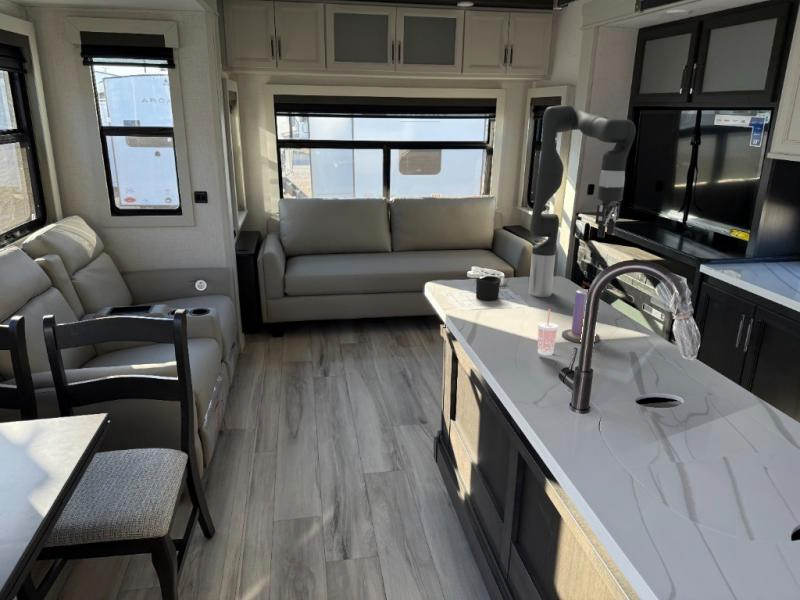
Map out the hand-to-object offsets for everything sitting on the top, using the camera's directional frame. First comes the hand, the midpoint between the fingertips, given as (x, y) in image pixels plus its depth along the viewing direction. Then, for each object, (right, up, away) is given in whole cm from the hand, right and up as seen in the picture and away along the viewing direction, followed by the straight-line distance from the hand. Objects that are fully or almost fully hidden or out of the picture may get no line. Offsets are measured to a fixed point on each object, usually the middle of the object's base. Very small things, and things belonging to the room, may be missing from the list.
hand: (605, 235), depth 182 cm
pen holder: (-32, -22, +43) cm, 58 cm away
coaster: (-7, -33, +5) cm, 34 cm away
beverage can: (-7, -33, +4) cm, 34 cm away
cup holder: (-29, -15, +68) cm, 76 cm away
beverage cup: (-22, -37, -9) cm, 44 cm away
